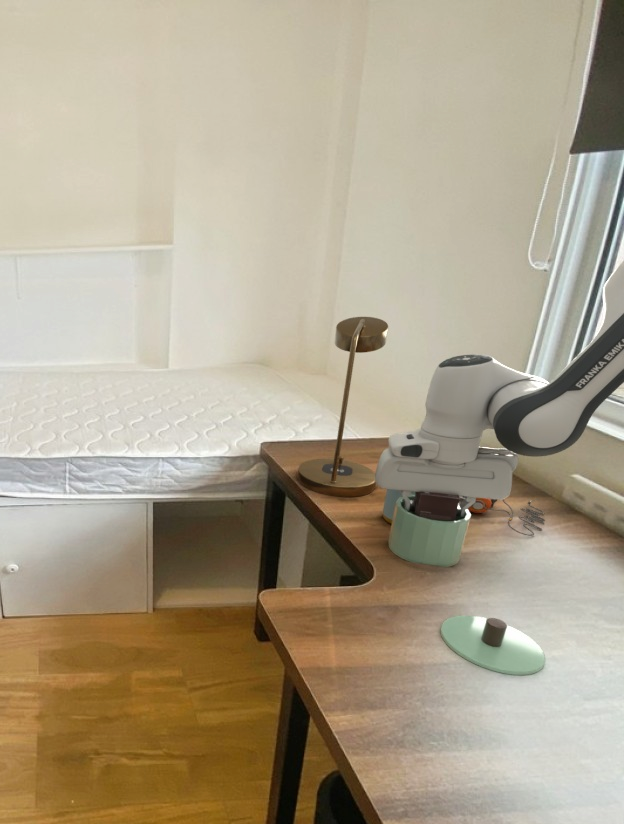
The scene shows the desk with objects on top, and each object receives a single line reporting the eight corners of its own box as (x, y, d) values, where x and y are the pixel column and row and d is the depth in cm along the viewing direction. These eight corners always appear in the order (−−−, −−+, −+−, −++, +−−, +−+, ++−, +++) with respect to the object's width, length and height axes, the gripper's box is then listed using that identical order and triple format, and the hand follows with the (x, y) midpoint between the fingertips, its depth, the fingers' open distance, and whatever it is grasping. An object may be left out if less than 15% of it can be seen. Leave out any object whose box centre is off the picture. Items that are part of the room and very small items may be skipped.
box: (452, 534, 101) (460, 498, 99) (412, 528, 104) (419, 493, 102) (448, 519, 106) (456, 484, 104) (410, 513, 109) (417, 480, 106)
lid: (526, 631, 86) (534, 606, 84) (557, 687, 76) (567, 661, 74) (432, 614, 91) (438, 591, 89) (449, 665, 81) (456, 640, 79)
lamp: (380, 460, 147) (406, 315, 133) (372, 502, 126) (402, 337, 112) (309, 450, 156) (326, 314, 142) (291, 488, 135) (309, 334, 121)
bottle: (413, 532, 114) (428, 466, 108) (376, 520, 119) (388, 457, 113) (425, 520, 118) (440, 455, 112) (388, 509, 123) (401, 447, 117)
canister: (451, 540, 110) (462, 498, 107) (466, 572, 101) (478, 527, 97) (384, 532, 115) (392, 491, 111) (392, 561, 105) (401, 517, 102)
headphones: (543, 529, 107) (430, 480, 119) (528, 550, 109) (418, 499, 122) (561, 500, 116) (454, 457, 129) (547, 520, 119) (443, 475, 132)
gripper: (515, 443, 98) (496, 512, 103) (379, 434, 106) (369, 499, 111) (527, 456, 92) (507, 528, 98) (384, 446, 101) (372, 513, 106)
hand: (432, 512), depth 104 cm, fingers closed on box, 6 cm apart
